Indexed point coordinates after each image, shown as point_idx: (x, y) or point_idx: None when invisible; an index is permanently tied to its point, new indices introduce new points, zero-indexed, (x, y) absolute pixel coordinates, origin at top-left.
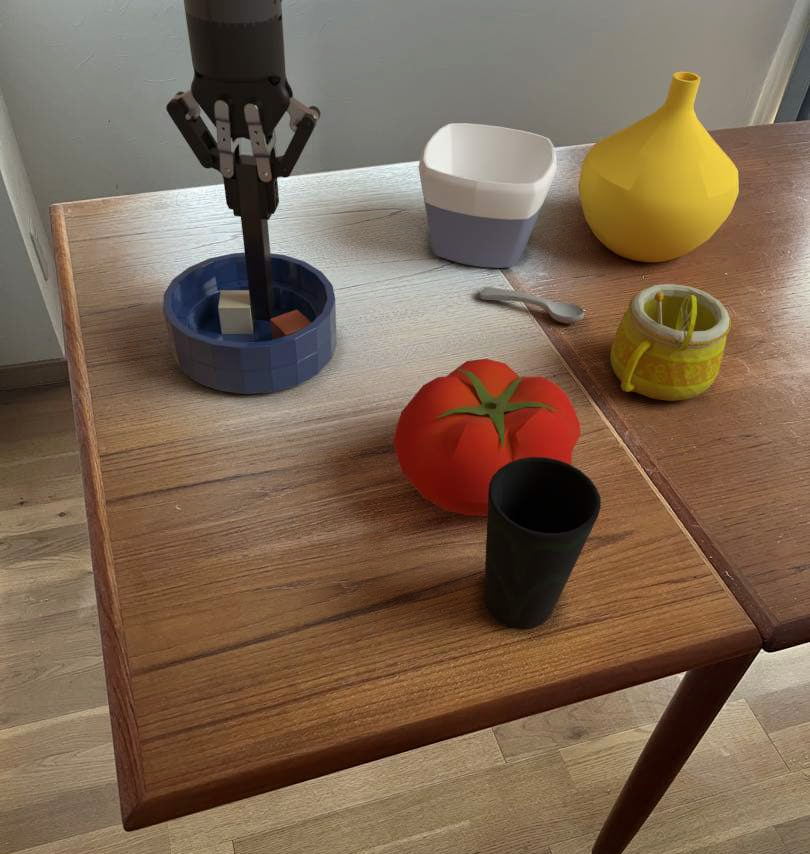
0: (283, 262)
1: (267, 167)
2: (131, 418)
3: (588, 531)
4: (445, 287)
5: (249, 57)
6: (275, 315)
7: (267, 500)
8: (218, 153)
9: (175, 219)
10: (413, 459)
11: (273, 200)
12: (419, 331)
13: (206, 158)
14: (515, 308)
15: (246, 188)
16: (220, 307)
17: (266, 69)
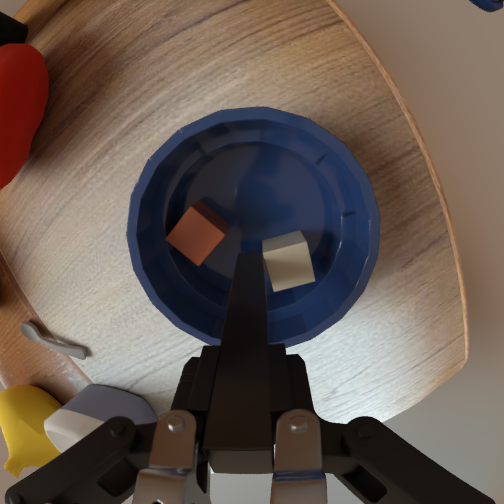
0: None
1: (161, 442)
2: (342, 69)
3: None
4: (114, 361)
5: None
6: None
7: (162, 12)
8: (332, 463)
9: (389, 392)
10: (22, 48)
11: (181, 378)
12: (102, 296)
13: (365, 440)
14: (61, 339)
15: (244, 395)
16: (303, 242)
17: None
